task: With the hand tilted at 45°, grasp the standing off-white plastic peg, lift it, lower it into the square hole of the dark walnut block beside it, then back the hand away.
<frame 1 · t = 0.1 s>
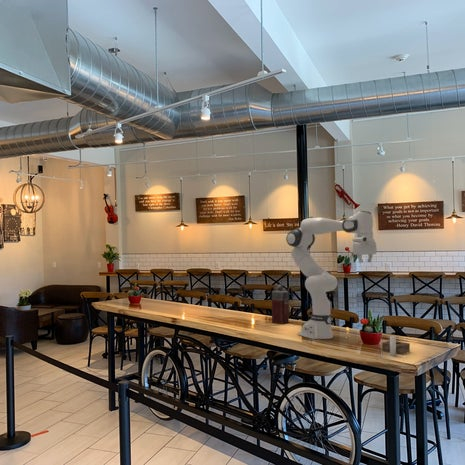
hand: (365, 262, 260), 48 cm above the table, tool pointing down, fingers open, 8 cm apart
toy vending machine: (281, 323, 329), on the table
peg: (392, 355, 236), on the table
socket block: (395, 351, 245), on the table
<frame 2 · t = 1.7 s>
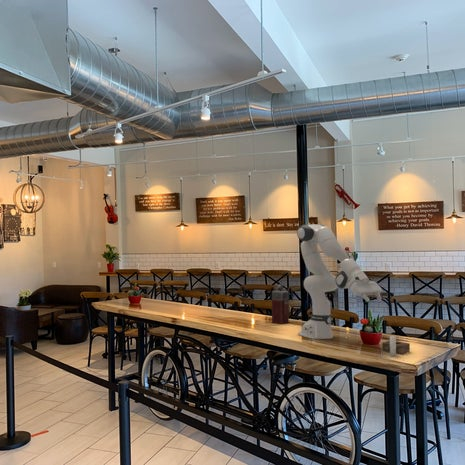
hand: (374, 300, 247), 28 cm above the table, tool tilted 45°, fingers open, 8 cm apart
nothing on the table moved.
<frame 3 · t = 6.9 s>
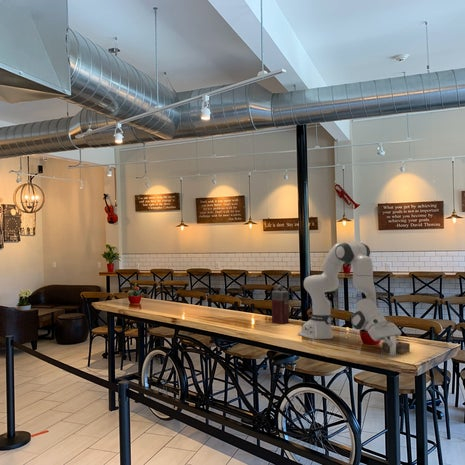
hand: (393, 344, 236), 6 cm above the table, tool tilted 45°, fingers closed on peg, 3 cm apart
peg: (392, 355, 236), on the table, touching gripper
everything else where it was.
when the fingers open (8 cm above the table, at t = 11.2 s): peg drops 2 cm, resting in socket block.
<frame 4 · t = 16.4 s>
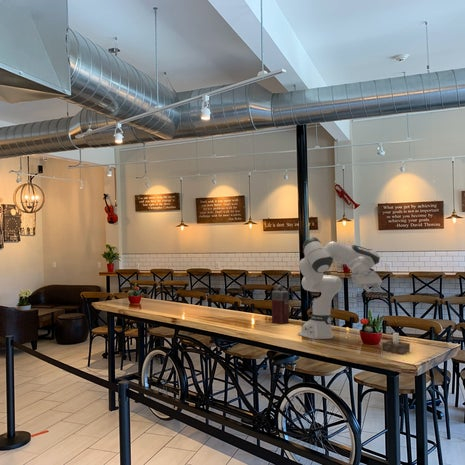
hand: (374, 291, 260), 31 cm above the table, tool tilted 45°, fingers open, 8 cm apart
peg: (395, 351, 245), resting in socket block
everything else where it was.
at the end: peg 0.1 cm off-centre on the socket block, point 0.0 cm above the socket block's base; peg tilted 0°; the gripper is holding nothing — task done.
